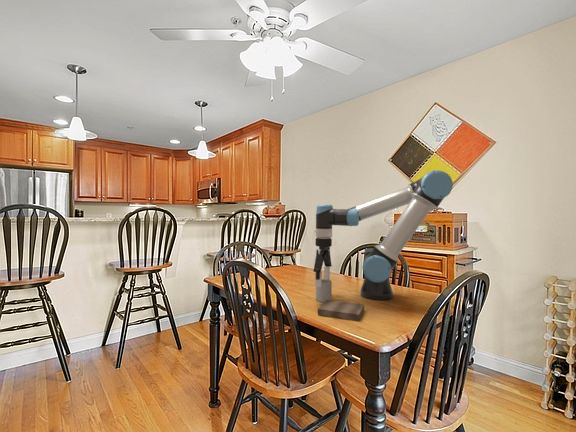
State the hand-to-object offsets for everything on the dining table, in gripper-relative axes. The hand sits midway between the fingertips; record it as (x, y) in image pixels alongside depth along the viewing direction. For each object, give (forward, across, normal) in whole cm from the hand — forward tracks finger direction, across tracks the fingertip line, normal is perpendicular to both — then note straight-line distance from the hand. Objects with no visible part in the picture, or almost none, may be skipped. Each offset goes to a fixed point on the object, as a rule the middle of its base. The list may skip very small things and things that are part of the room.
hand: (322, 283), depth 141 cm
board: (+7, +15, +13) cm, 21 cm away
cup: (+8, 0, +1) cm, 8 cm away
